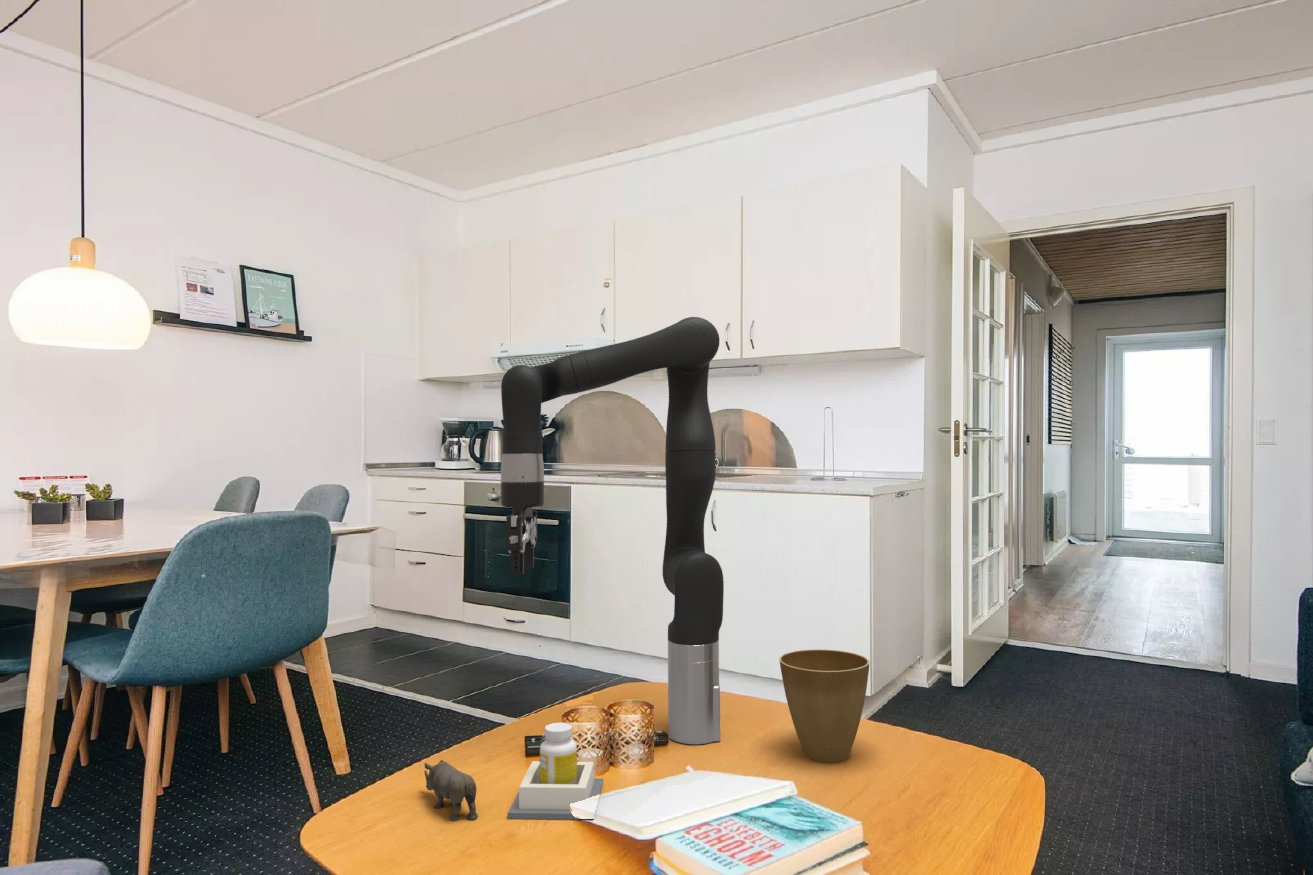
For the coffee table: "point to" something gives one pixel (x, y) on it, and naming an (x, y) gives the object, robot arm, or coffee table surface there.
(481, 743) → the coffee table surface
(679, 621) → the robot arm
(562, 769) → the supplement bottle
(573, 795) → the box
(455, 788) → the rhino figurine
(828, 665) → the plant pot
